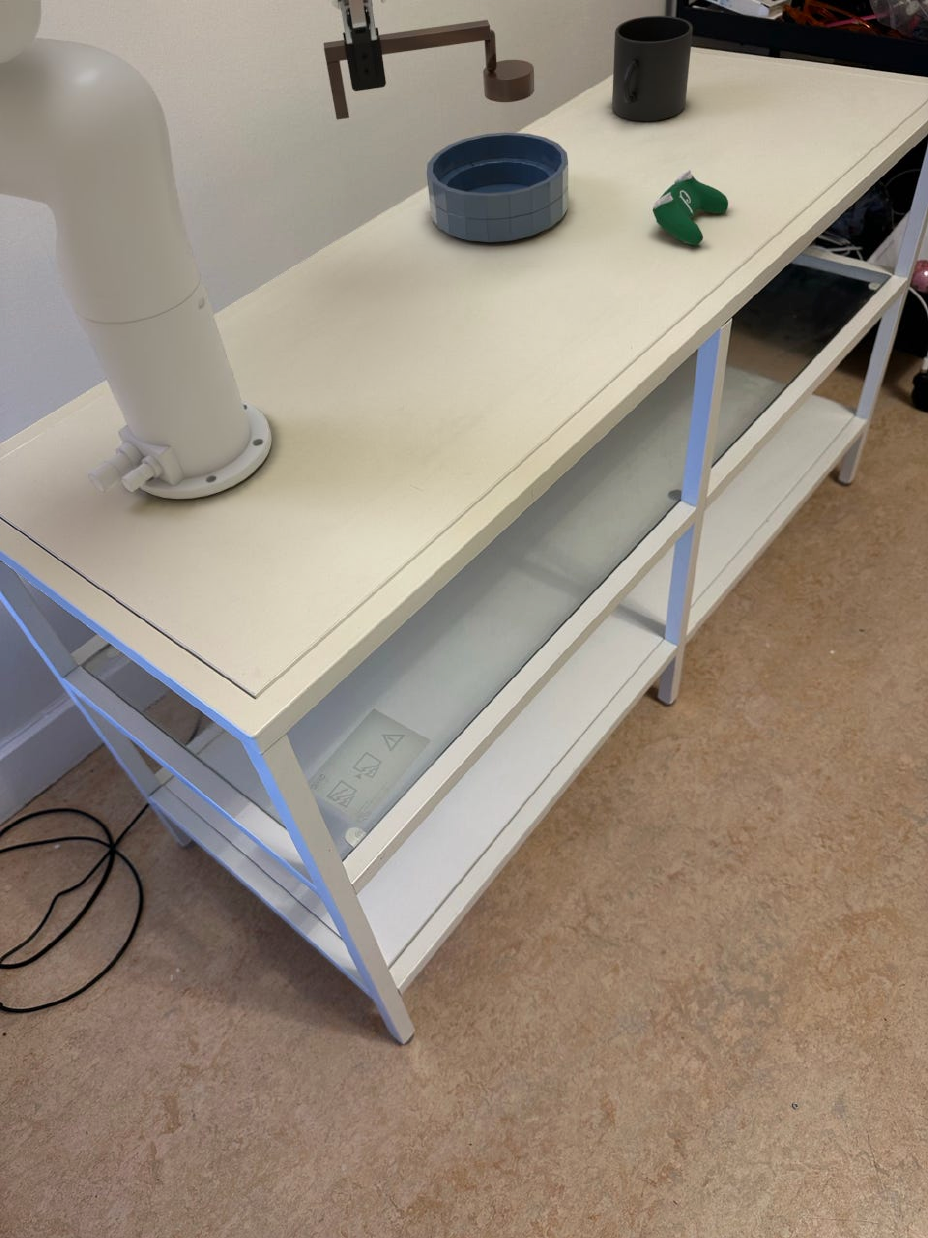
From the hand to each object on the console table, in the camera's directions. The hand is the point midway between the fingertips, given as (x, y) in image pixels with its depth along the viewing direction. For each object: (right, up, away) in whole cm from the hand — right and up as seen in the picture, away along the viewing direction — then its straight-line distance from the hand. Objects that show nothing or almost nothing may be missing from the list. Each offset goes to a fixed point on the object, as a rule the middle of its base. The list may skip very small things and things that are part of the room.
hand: (368, 81), depth 84 cm
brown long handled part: (+6, -1, +2) cm, 7 cm away
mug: (+32, +16, +33) cm, 49 cm away
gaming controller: (+33, -8, +13) cm, 36 cm away
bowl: (+13, -4, +18) cm, 23 cm away
